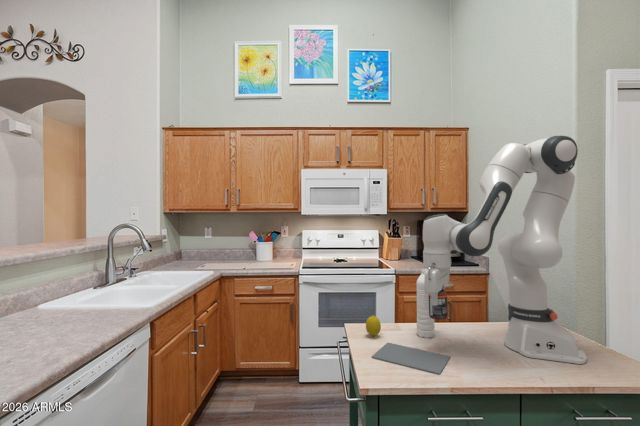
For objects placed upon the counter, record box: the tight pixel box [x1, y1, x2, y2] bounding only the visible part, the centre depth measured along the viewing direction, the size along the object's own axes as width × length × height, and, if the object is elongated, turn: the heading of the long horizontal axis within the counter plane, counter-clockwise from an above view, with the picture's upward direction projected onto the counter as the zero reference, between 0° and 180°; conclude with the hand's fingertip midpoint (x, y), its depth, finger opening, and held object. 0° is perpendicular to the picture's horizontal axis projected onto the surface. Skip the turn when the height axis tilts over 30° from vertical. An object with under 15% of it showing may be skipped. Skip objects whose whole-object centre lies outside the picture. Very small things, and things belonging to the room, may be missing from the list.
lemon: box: [365, 314, 382, 338], centre depth 121 cm, size 6×6×8 cm
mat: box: [371, 342, 451, 376], centre depth 103 cm, size 21×14×1 cm, turn 57°
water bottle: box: [416, 268, 436, 339], centre depth 123 cm, size 9×6×25 cm
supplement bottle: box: [428, 286, 448, 321], centre depth 110 cm, size 6×6×11 cm
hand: (437, 302), depth 110 cm, fingers closed on supplement bottle, 6 cm apart
